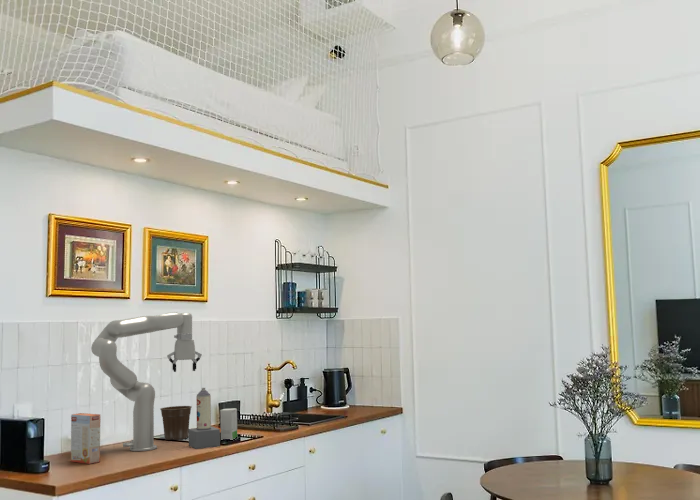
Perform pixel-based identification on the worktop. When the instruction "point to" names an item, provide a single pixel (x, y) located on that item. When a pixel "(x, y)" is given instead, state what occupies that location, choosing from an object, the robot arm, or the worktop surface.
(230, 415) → the skincare box
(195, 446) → the stand
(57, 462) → the worktop surface
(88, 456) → the cracker box
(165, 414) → the plant pot
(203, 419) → the aerosol can
